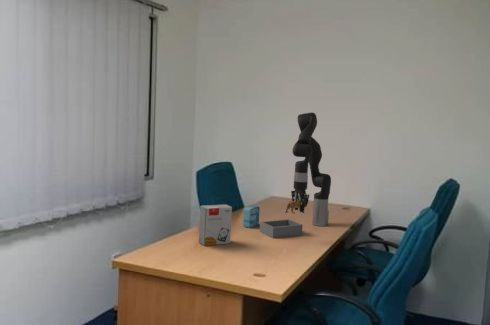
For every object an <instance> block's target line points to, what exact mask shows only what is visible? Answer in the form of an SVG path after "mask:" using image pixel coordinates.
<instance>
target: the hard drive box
mask: <svg viewBox="0 0 490 325" xmlns="http://www.w3.org/2000/svg"><path fill="white" fill-rule="evenodd" d="M199 208H200V209H199V210H200V211H199V227H198V228H199V231H198V232H199V234H198V243H200V244H201V245H203V246H213V245H226V244H231V233H232V232H231V230H232V214H233V213H232V212H233V206H231V205H229V204H211V205H210V204H209V205H208V204H207V205H200V207H199Z"/></svg>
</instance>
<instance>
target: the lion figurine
mask: <svg viewBox="0 0 490 325" xmlns="http://www.w3.org/2000/svg"><path fill="white" fill-rule="evenodd" d="M305 202H306V201H305ZM302 203H303V201H302ZM308 204H309V199H308V203H307V205H305V206H304V208H306V207H307V206H308ZM300 205H301V204H300V201H298V202H295V201H292V200H291V201H288V203H287V205H286V210H285V212H284V213H285V214H286V213H289V210H290V212H291V213H292V214H294V215H295V214H296V213H295V212H294V210H295V208H298V212H299V213H302V214H305V211H304V212H300ZM294 207H295V208H294Z"/></svg>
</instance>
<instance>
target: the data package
mask: <svg viewBox="0 0 490 325" xmlns="http://www.w3.org/2000/svg"><path fill="white" fill-rule="evenodd" d="M260 210H261V209H260V206H258V205H249V206H246V207H244V208H243V220H242V226H243V228H248V229H251V228H254V227H257V226H259V225H260Z"/></svg>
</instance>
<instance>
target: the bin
mask: <svg viewBox="0 0 490 325" xmlns="http://www.w3.org/2000/svg"><path fill="white" fill-rule="evenodd" d="M259 233H261V234H263V235H265V236H267V237H270V238H272V239H277V238H285V237H294V236H302V235H303V224H301V223H299V222H297V221H294V220H291V219H277V220H267V221H266V220H265V221H259Z"/></svg>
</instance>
